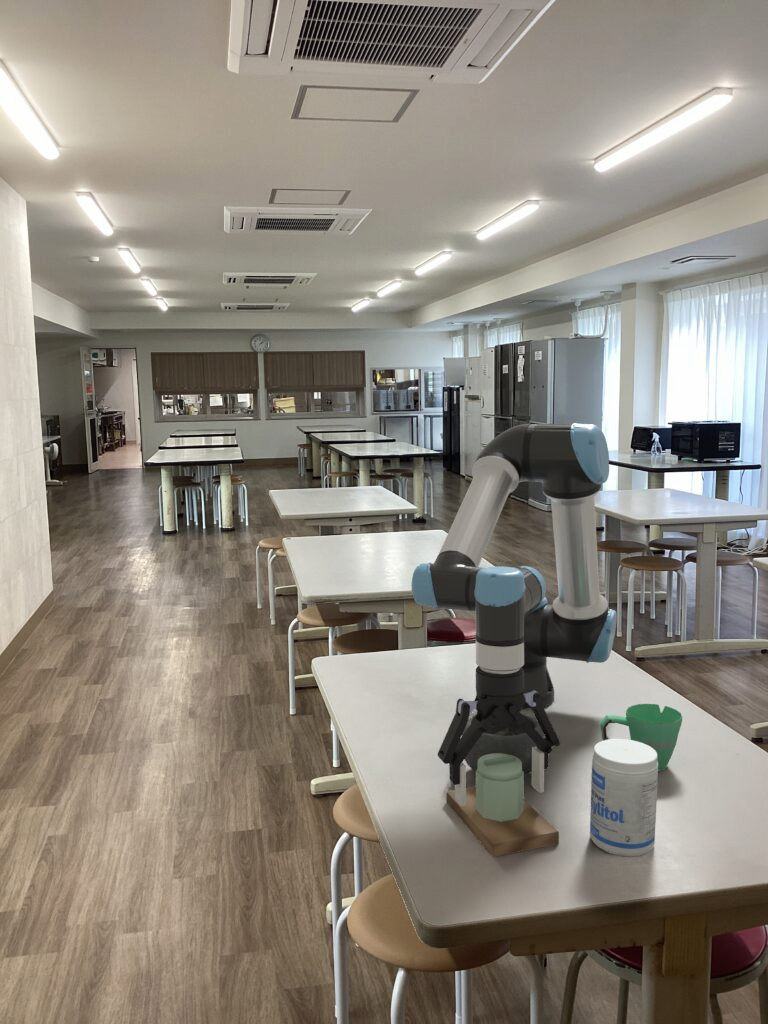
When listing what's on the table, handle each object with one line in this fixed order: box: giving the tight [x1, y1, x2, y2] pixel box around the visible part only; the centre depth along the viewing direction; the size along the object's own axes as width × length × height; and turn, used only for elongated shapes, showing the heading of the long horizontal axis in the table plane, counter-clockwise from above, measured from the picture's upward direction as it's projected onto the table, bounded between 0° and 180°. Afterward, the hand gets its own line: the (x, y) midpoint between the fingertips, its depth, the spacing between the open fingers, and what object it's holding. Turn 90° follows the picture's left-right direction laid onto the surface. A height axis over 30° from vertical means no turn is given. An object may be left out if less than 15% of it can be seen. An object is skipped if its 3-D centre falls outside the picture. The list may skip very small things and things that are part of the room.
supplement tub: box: [589, 738, 659, 857], centre depth 125 cm, size 10×10×15 cm
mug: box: [599, 703, 683, 772], centre depth 152 cm, size 15×10×10 cm
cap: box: [475, 753, 525, 822], centre depth 132 cm, size 7×7×9 cm
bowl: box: [461, 712, 545, 777], centre depth 149 cm, size 15×15×10 cm
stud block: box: [446, 786, 560, 858], centre depth 133 cm, size 11×18×8 cm, turn 18°
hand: (499, 795), depth 132 cm, fingers open, 13 cm apart
